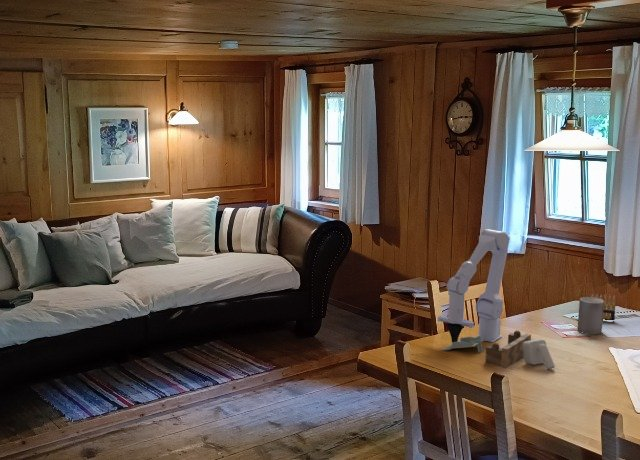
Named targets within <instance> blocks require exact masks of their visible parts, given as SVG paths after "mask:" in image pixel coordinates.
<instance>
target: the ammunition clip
mask: <svg viewBox="0 0 640 460" xmlns="http://www.w3.org/2000/svg"><path fill="white" fill-rule="evenodd" d="M590 297H595V298H600V299H602V300H604V307H603V319H605V320H615V319H616V318H615V317H616V316H615V315H616V295H615V294H614V295H613V297H611V294H609V295H608V298H607V294H604V296H603V294H602V293H601V294H600V296H599V294H598V293H596V295H594V293H592V294H591V296H590Z"/></svg>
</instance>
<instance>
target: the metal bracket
mask: <svg viewBox="0 0 640 460" xmlns="http://www.w3.org/2000/svg"><path fill="white" fill-rule="evenodd" d="M477 336H478V335H477ZM474 337H476V336H474ZM474 337H473V336H464V337H463V336H462V337H460V338H459V339H458V341H457V342H453V343H452V342H451V344H450V345H448V346H446V347H445V348H443V349H441V351H442V350H443V351H450V350H453V349H462V348H472V347H473V348H474V347H477V348H476V349H477V352H478V354H480V353H481V352H483V351H484V350H485V349H484V348H483V344H482V342H484V340H485V339H481V337H480V336H478V337H476V338H474Z"/></svg>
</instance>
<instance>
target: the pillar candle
mask: <svg viewBox="0 0 640 460" xmlns="http://www.w3.org/2000/svg"><path fill="white" fill-rule="evenodd" d="M578 305H579V306H578V318H577V329H578V330H577V332H579V331H580V332H579V333H581V332H583V333H582V334H584V333H587V334H586V335H590V334H593V335H600V333H601V334H602V331H603V322H604V321H603V307H604V299H603V298H602V299H600V297H598V298H596V296H594V297H591V296H583V297H580V298H579V304H578Z"/></svg>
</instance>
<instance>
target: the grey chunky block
mask: <svg viewBox="0 0 640 460" xmlns="http://www.w3.org/2000/svg"><path fill="white" fill-rule="evenodd" d="M523 352H524V357H523V361H524V363H525V364H526V365H532V366H533V365H539V364H544V366H545V368H546V370H551V369H554V368H556V365H555V363H554V361H553V358H552V355H551V353H550V351H549V348H548V346H547V342H546V340H543V339H533V340H532V339H531V341H525V342H524V343H523Z"/></svg>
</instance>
